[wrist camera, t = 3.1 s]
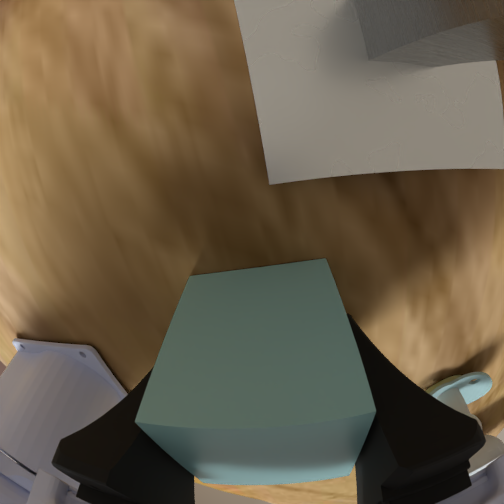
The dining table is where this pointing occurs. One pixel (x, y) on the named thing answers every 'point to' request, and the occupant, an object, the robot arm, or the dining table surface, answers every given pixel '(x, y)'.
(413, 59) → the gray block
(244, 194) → the dining table surface
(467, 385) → the pacifier
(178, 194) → the dining table surface
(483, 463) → the serving bowl
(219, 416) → the teal block
